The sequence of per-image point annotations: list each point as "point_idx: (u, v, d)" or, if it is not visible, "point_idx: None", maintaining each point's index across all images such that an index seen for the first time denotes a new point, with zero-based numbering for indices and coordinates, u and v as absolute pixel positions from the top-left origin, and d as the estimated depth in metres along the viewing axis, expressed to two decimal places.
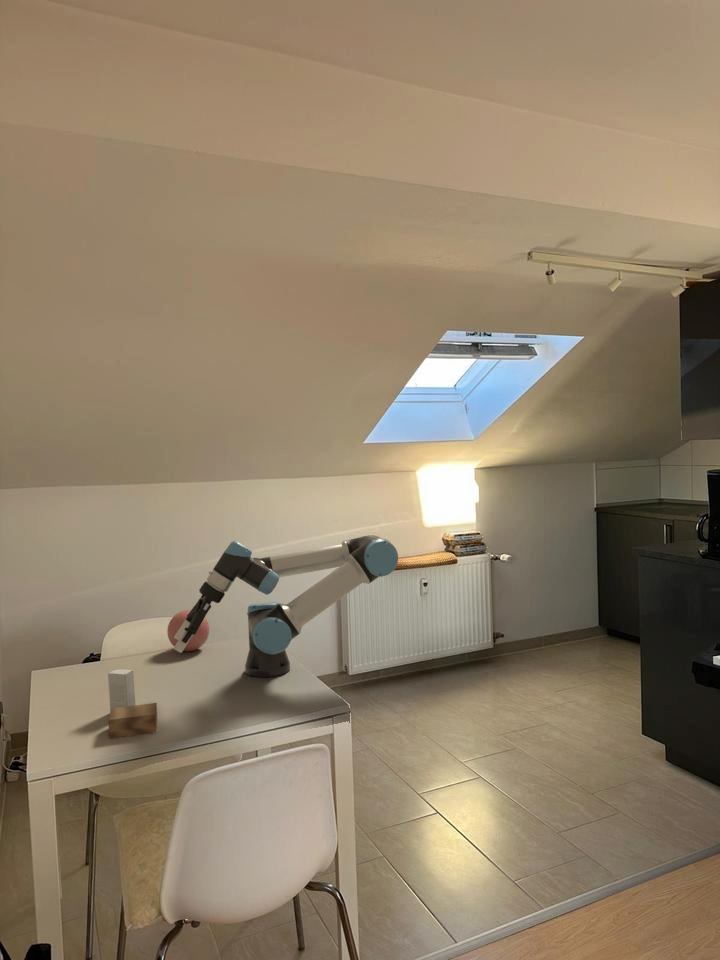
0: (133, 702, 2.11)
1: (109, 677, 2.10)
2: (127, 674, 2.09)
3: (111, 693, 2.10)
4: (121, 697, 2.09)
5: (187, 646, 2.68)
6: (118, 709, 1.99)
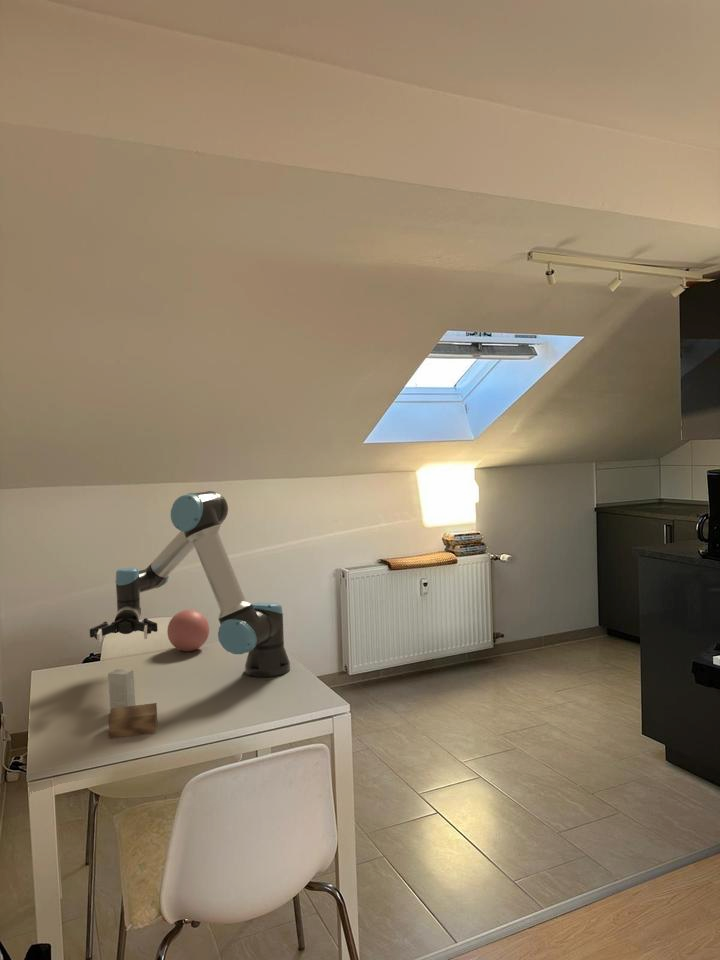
0: (133, 702, 2.11)
1: (109, 677, 2.10)
2: (127, 674, 2.09)
3: (111, 693, 2.10)
4: (121, 697, 2.09)
5: (187, 646, 2.68)
6: (118, 709, 1.99)
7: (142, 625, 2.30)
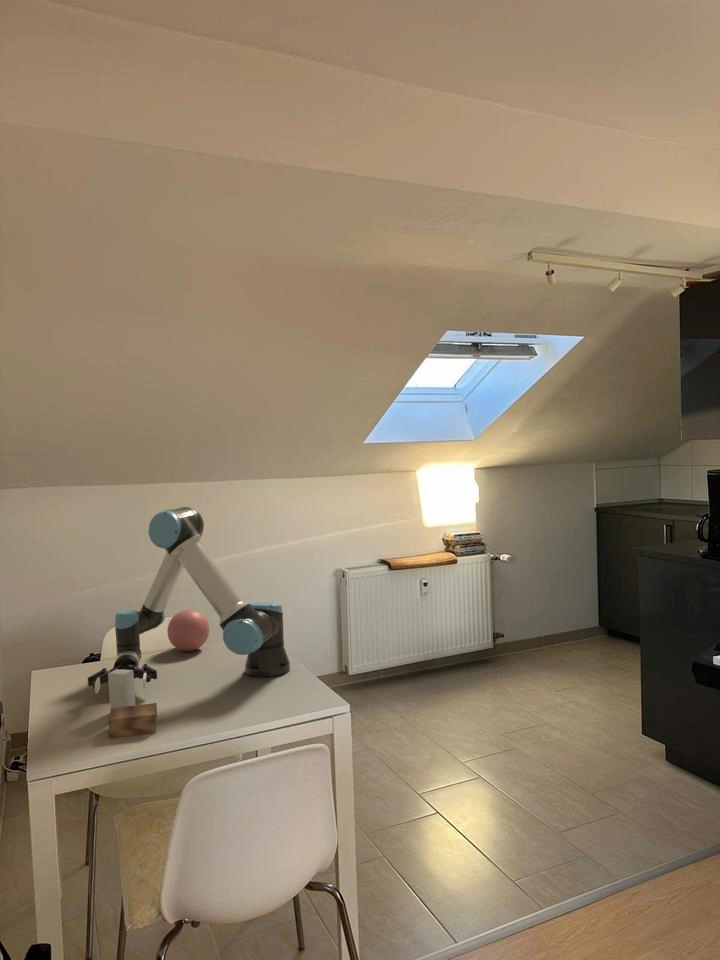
0: (133, 702, 2.11)
1: (109, 677, 2.10)
2: (127, 674, 2.09)
3: (111, 693, 2.10)
4: (121, 697, 2.09)
5: (187, 646, 2.68)
6: (118, 709, 1.99)
7: (141, 672, 2.24)
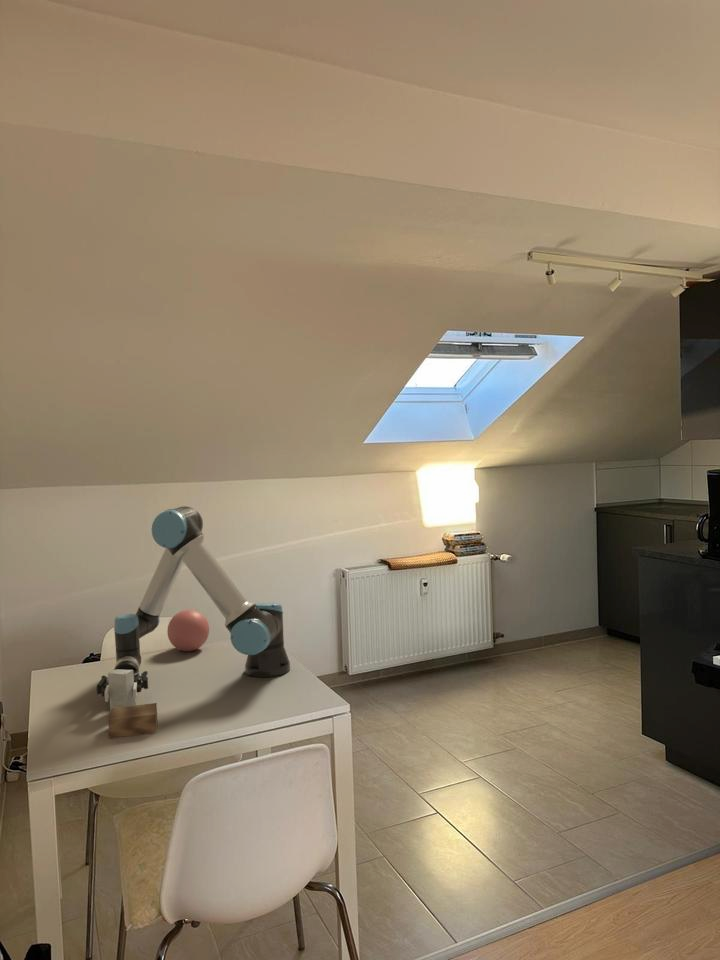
0: (133, 702, 2.11)
1: (109, 677, 2.10)
2: (127, 674, 2.09)
3: (111, 693, 2.10)
4: (121, 697, 2.09)
5: (187, 646, 2.68)
6: (118, 709, 1.99)
7: (134, 681, 2.16)
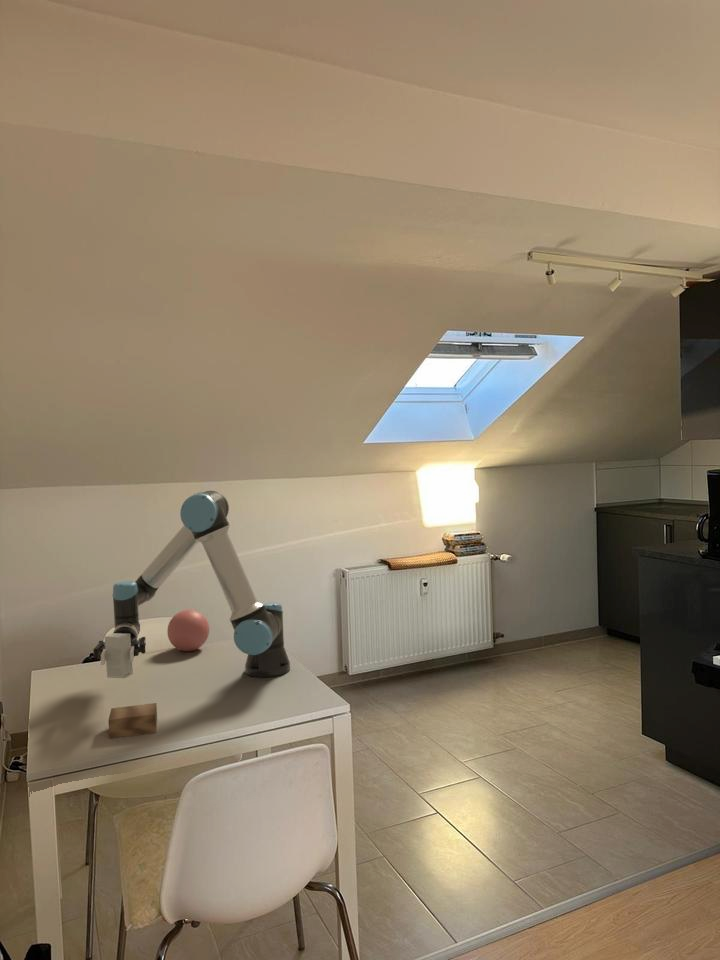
0: (130, 666, 2.08)
1: (106, 640, 2.07)
2: (124, 637, 2.06)
3: (107, 657, 2.07)
4: (117, 660, 2.06)
5: (187, 646, 2.68)
6: (118, 709, 1.99)
7: (131, 645, 2.13)
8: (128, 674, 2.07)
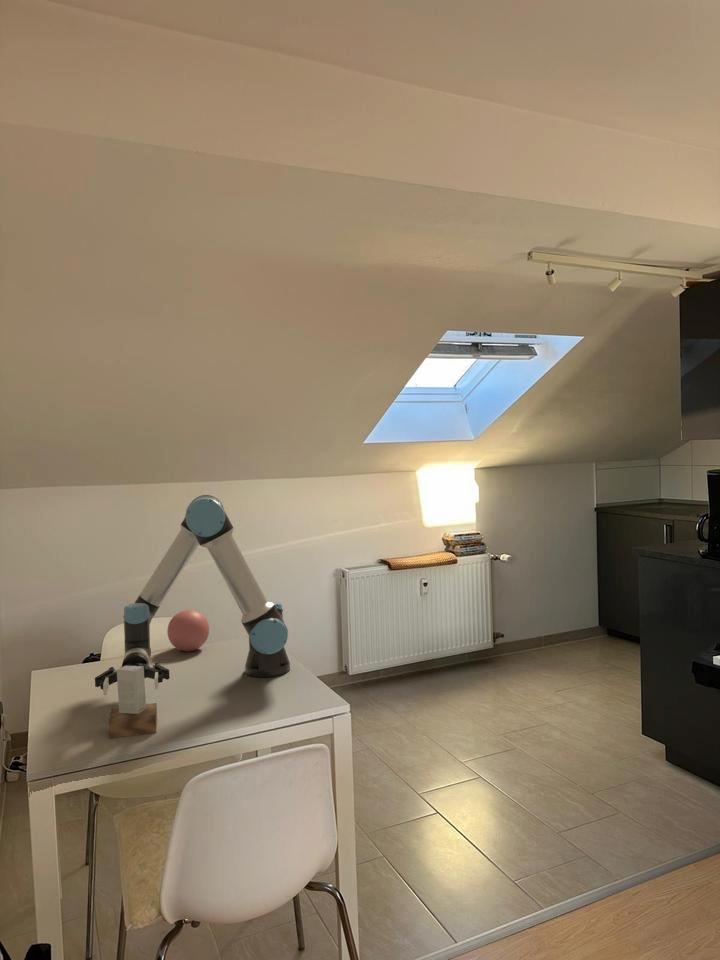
0: (143, 701, 1.98)
1: (118, 674, 1.96)
2: (137, 671, 1.95)
3: (119, 691, 1.96)
4: (130, 695, 1.95)
5: (187, 646, 2.68)
6: (118, 709, 1.99)
7: (152, 672, 2.04)
8: (141, 709, 1.96)
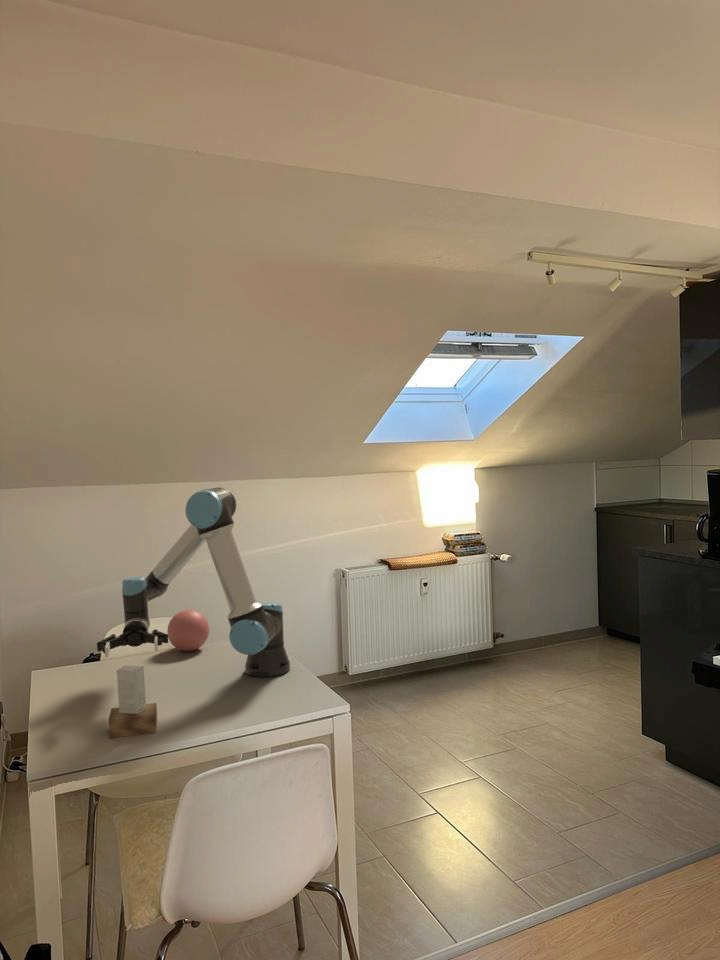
0: (143, 701, 1.98)
1: (118, 674, 1.96)
2: (137, 671, 1.95)
3: (119, 691, 1.96)
4: (130, 695, 1.95)
5: (187, 646, 2.68)
6: (118, 709, 1.99)
7: (152, 637, 2.18)
8: (141, 709, 1.96)
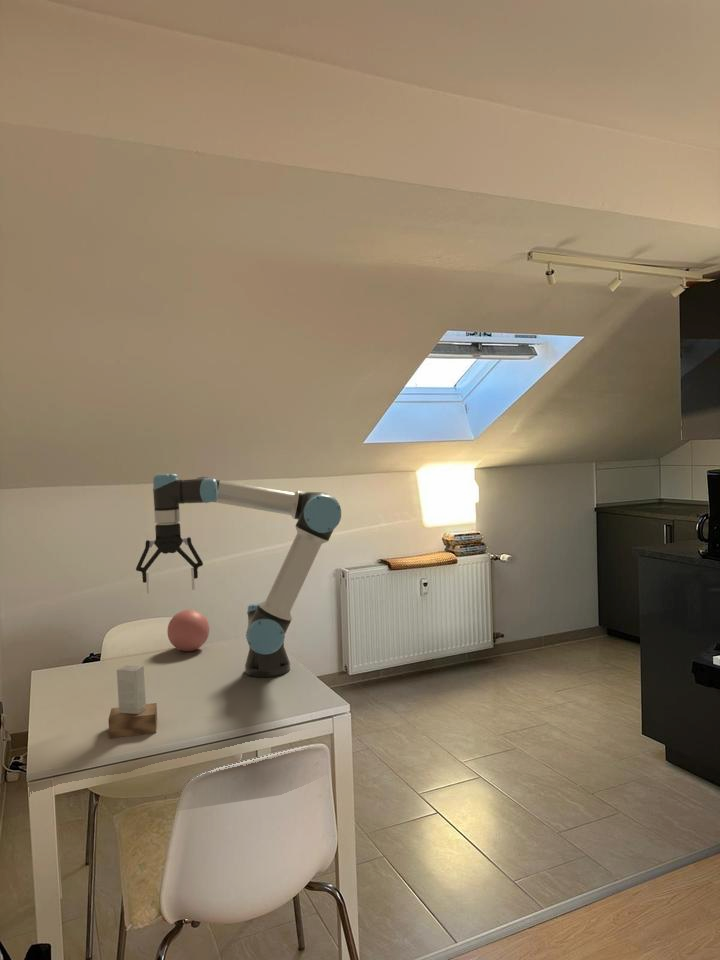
0: (143, 701, 1.98)
1: (118, 674, 1.96)
2: (137, 671, 1.95)
3: (119, 691, 1.96)
4: (130, 695, 1.95)
5: (187, 646, 2.68)
6: (118, 709, 1.99)
7: (188, 561, 2.27)
8: (141, 709, 1.96)
